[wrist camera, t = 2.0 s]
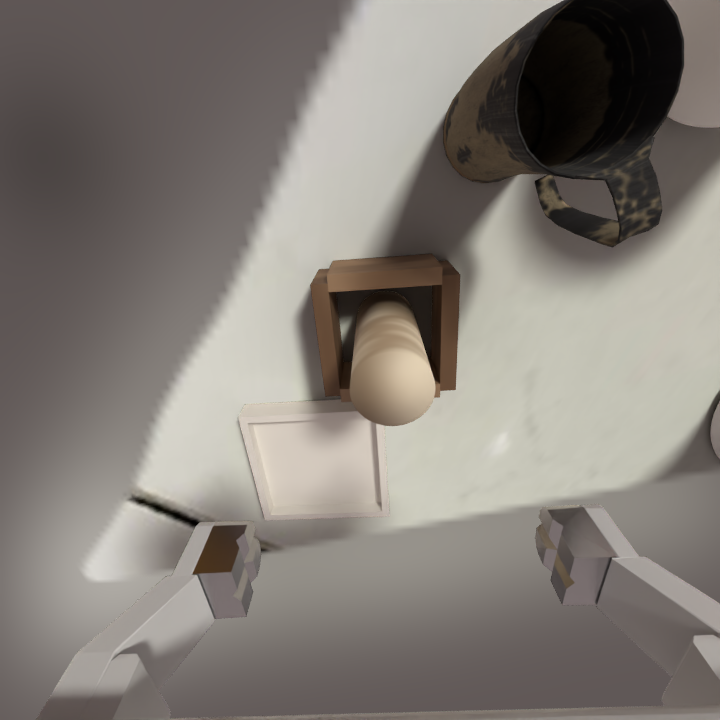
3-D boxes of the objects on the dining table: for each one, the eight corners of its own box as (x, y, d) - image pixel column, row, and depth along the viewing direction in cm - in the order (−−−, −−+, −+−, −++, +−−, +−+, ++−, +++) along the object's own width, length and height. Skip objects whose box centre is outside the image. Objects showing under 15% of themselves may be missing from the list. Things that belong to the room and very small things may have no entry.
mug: (426, 102, 21) (485, 23, 10) (523, 42, 20) (708, -121, 9) (476, 234, 24) (564, 281, 13) (563, 189, 23) (739, 200, 12)
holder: (447, 252, 24) (460, 265, 21) (444, 368, 28) (455, 396, 25) (318, 261, 25) (309, 276, 21) (332, 374, 29) (326, 403, 25)
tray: (382, 397, 29) (383, 409, 28) (388, 500, 34) (389, 516, 33) (245, 404, 30) (237, 417, 28) (269, 504, 35) (265, 520, 33)
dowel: (413, 288, 26) (435, 349, 17) (414, 342, 27) (435, 424, 18) (354, 292, 26) (345, 354, 17) (359, 345, 27) (353, 427, 19)
